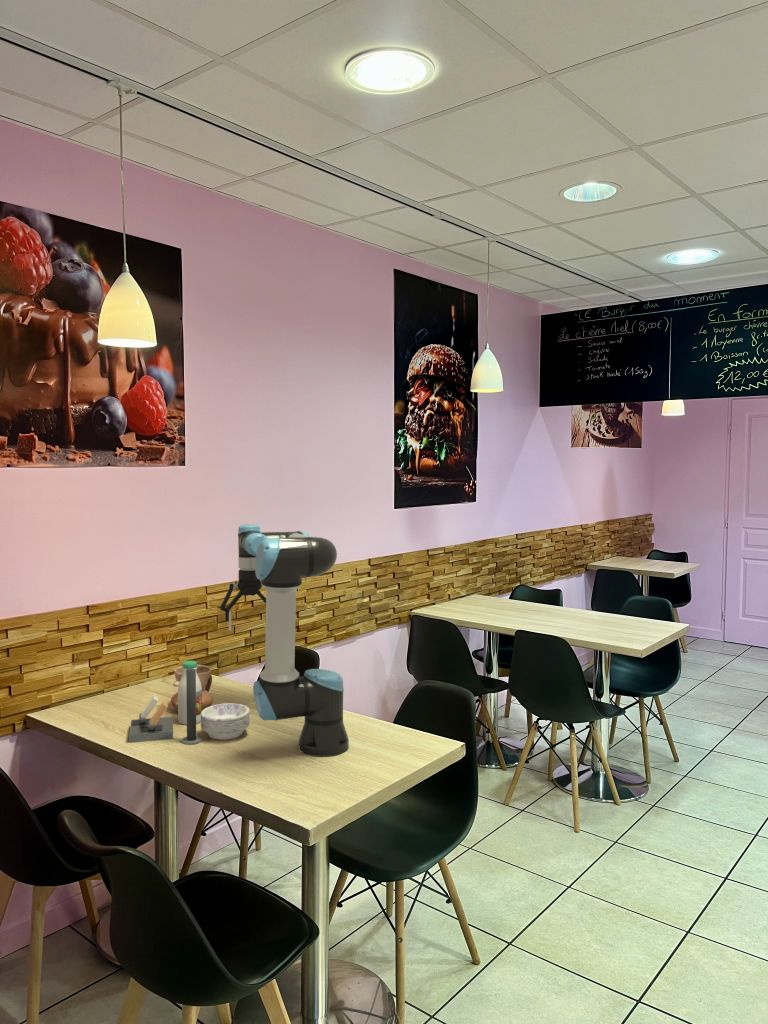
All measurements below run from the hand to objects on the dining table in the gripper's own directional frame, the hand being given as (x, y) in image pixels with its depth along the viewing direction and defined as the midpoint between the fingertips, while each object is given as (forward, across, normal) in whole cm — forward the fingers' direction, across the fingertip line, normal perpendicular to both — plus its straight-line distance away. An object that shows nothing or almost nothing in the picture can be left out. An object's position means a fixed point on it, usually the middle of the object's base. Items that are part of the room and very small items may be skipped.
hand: (249, 629), depth 265 cm
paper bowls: (+28, +10, +26) cm, 39 cm away
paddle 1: (+24, +35, +15) cm, 45 cm away
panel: (+28, +32, +19) cm, 46 cm away
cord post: (+28, +20, +29) cm, 45 cm away
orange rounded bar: (+24, +32, +22) cm, 46 cm away
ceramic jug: (+28, +19, -3) cm, 34 cm away
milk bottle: (+28, +20, +10) cm, 36 cm away
